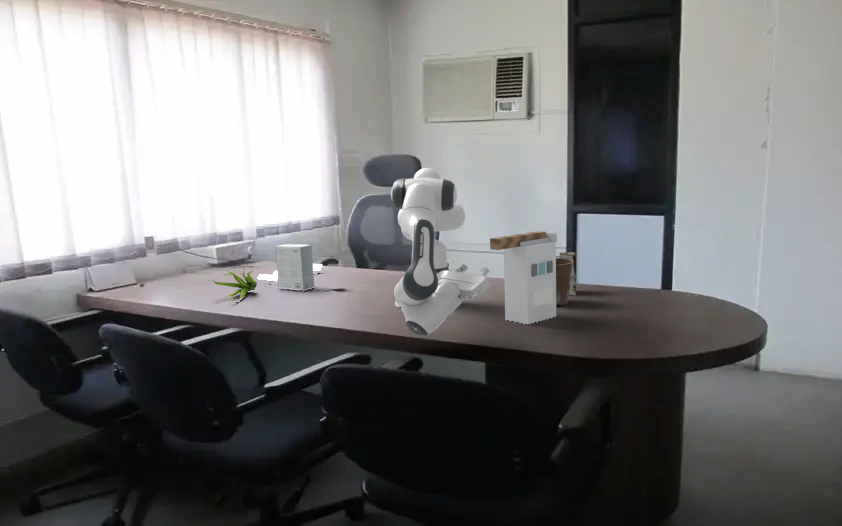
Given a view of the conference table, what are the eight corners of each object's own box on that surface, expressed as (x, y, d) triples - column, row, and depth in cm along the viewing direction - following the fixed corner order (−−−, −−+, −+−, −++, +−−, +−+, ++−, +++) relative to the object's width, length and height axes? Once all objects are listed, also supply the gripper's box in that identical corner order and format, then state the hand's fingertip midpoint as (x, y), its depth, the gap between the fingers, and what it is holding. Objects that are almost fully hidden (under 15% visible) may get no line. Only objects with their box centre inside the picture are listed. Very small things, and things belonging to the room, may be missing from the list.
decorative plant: (196, 306, 273) (193, 270, 271) (248, 291, 299) (245, 259, 296) (228, 309, 265) (225, 272, 262) (278, 294, 290) (276, 261, 288)
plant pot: (570, 308, 241) (570, 265, 239) (526, 307, 247) (525, 264, 245) (576, 299, 256) (576, 258, 254) (534, 297, 262) (533, 257, 260)
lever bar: (498, 250, 213) (497, 239, 213) (490, 249, 216) (489, 238, 215) (546, 241, 228) (546, 231, 228) (538, 241, 231) (538, 231, 231)
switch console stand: (528, 325, 221) (527, 238, 216) (505, 320, 229) (503, 236, 224) (558, 316, 231) (557, 233, 226) (534, 312, 239) (533, 231, 234)
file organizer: (253, 284, 318) (253, 274, 317) (303, 272, 347) (303, 263, 346) (273, 286, 311) (273, 276, 310) (323, 274, 340) (322, 264, 340)
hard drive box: (315, 288, 299) (312, 244, 296) (303, 292, 293) (300, 247, 289) (289, 286, 307) (286, 243, 304) (277, 289, 301) (274, 245, 298)
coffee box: (576, 295, 264) (576, 255, 261) (559, 295, 265) (559, 255, 262) (575, 290, 272) (575, 251, 270) (559, 290, 274) (559, 251, 271)
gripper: (468, 291, 194) (496, 262, 201) (423, 283, 209) (450, 256, 216) (476, 308, 197) (504, 279, 203) (431, 298, 212) (457, 272, 219)
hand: (475, 267), depth 210 cm, fingers open, 8 cm apart
